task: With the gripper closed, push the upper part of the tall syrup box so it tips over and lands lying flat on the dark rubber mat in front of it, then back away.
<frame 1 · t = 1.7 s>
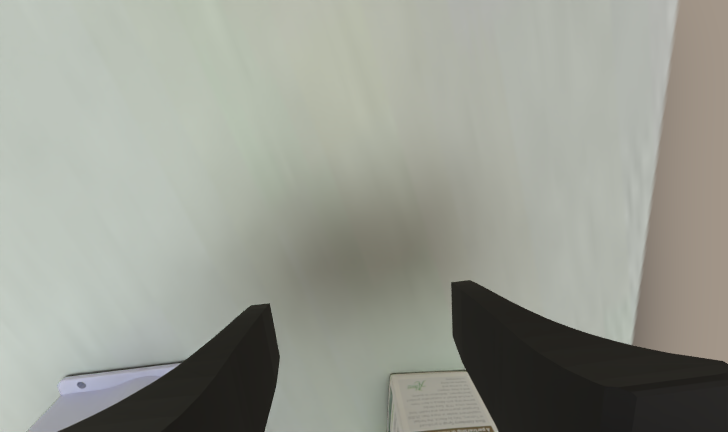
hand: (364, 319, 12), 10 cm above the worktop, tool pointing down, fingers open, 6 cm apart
syrup box: (427, 401, 26), on the worktop
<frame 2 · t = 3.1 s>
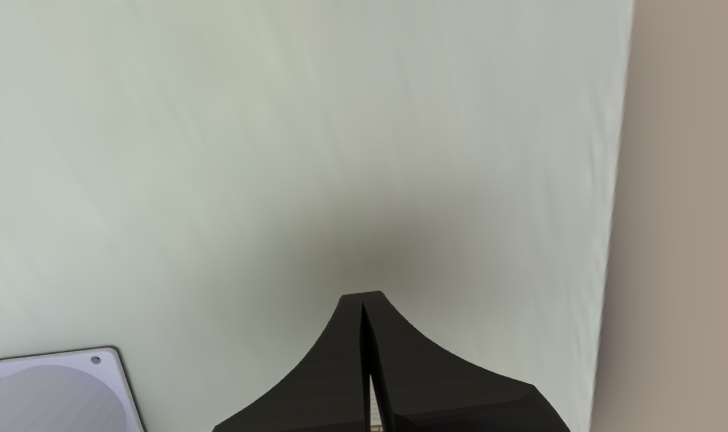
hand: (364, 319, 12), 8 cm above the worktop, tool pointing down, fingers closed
syrup box: (370, 395, 23), on the worktop
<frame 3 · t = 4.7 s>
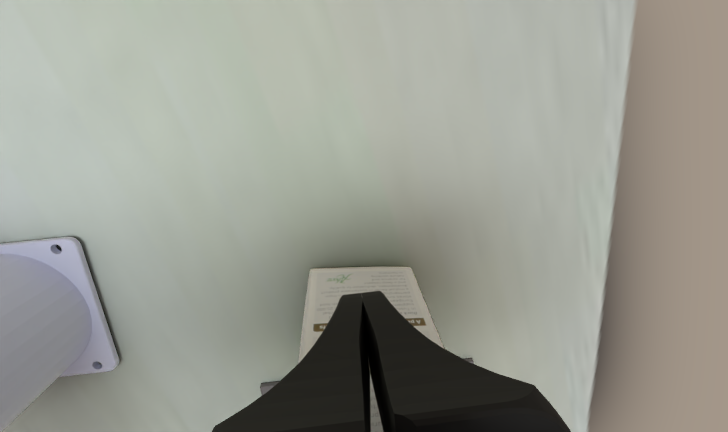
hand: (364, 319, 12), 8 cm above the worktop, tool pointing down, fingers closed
syrup box: (361, 306, 21), on the worktop
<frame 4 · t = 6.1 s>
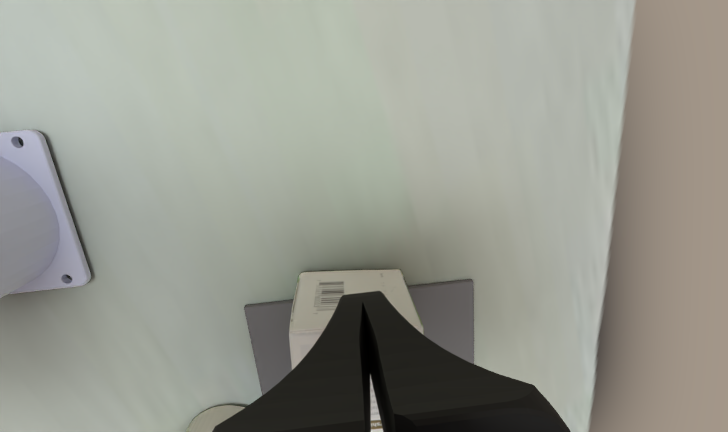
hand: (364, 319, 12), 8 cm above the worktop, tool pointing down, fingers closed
syrup box: (355, 289, 17), point 3 cm above the worktop, touching mat
mat: (370, 391, 23), on the worktop
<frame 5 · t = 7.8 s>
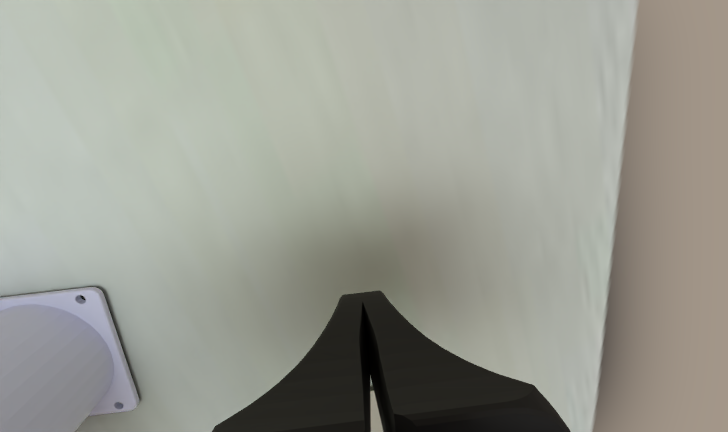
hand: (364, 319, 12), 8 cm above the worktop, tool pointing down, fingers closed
syrup box: (375, 423, 20), point 3 cm above the worktop, touching mat
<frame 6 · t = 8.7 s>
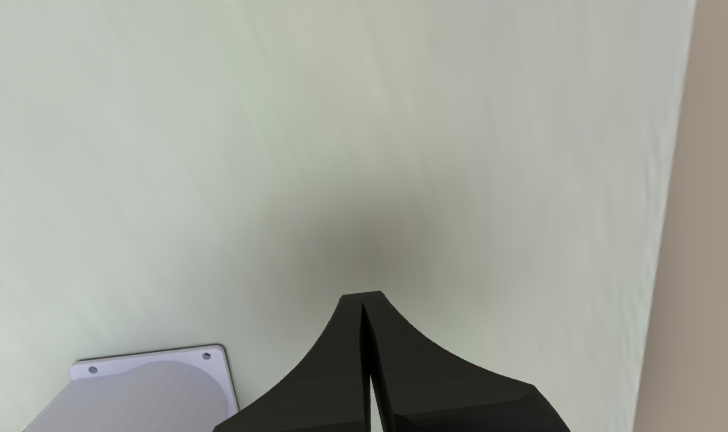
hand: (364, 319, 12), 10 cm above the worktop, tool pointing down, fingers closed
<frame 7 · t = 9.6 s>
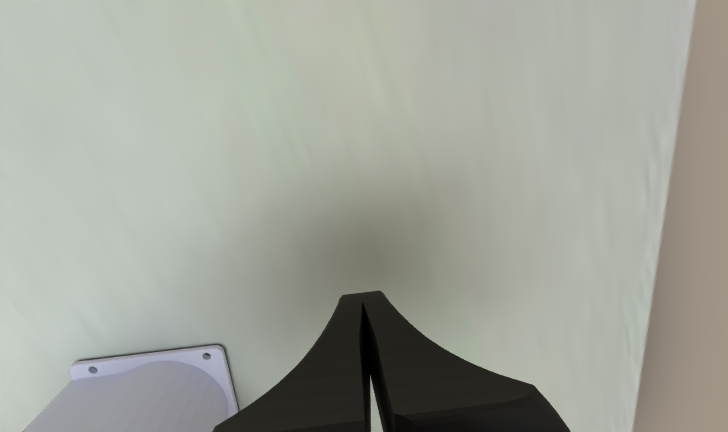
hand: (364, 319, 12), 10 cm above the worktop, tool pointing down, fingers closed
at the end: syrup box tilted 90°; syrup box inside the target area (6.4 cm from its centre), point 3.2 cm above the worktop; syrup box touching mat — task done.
